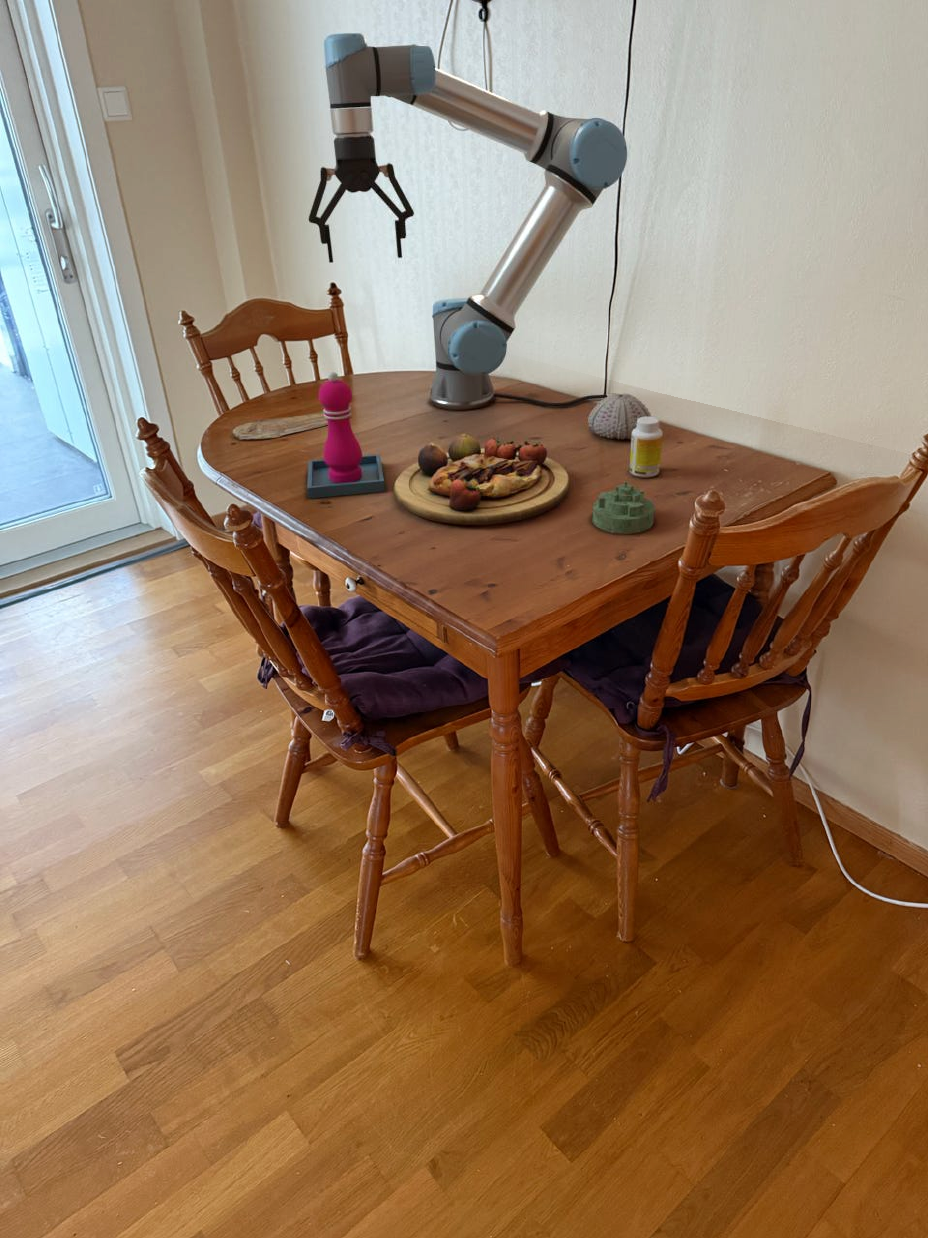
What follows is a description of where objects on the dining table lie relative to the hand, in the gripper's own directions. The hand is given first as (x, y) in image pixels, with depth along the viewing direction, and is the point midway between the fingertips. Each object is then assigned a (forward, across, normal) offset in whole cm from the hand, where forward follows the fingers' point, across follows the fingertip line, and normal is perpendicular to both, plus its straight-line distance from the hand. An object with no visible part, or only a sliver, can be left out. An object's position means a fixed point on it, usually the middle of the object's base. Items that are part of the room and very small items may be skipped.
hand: (365, 259), depth 165 cm
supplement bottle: (+35, -47, +38) cm, 70 cm away
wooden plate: (+35, -16, +39) cm, 55 cm away
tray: (+35, +8, +28) cm, 45 cm away
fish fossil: (+35, +20, -7) cm, 41 cm away
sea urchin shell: (+35, -49, +16) cm, 62 cm away
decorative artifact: (+35, -37, +57) cm, 76 cm away
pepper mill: (+34, +8, +28) cm, 45 cm away
